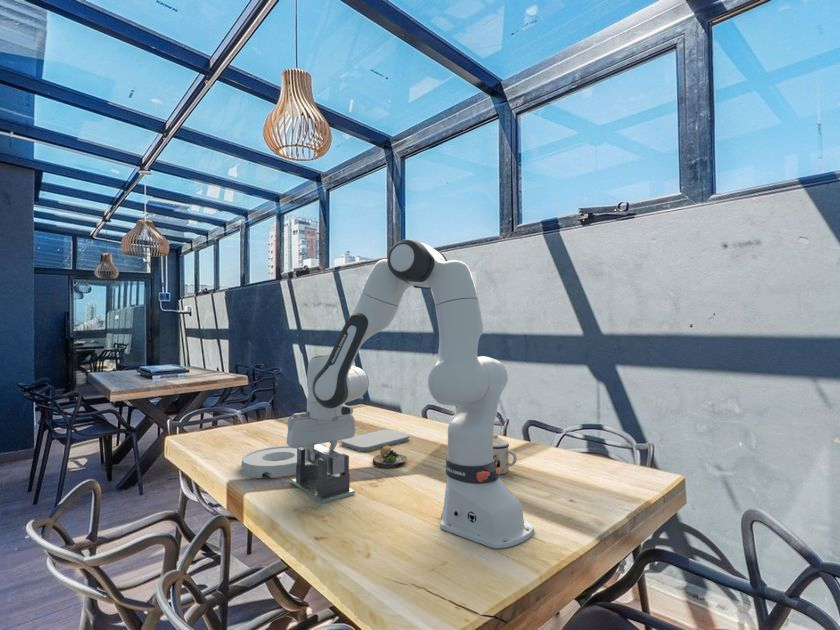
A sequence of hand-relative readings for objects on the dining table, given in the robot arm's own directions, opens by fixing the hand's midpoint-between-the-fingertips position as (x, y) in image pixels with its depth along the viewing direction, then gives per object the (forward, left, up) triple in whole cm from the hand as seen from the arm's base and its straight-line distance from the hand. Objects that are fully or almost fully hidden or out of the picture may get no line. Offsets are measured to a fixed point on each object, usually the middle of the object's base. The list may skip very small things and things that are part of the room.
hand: (322, 458), depth 124 cm
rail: (0, 0, -2) cm, 2 cm away
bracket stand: (0, 0, -9) cm, 9 cm away
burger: (+7, -29, -9) cm, 31 cm away
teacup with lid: (-23, -51, -9) cm, 57 cm away
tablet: (+32, -40, -9) cm, 52 cm away
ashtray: (+28, +2, -9) cm, 29 cm away
